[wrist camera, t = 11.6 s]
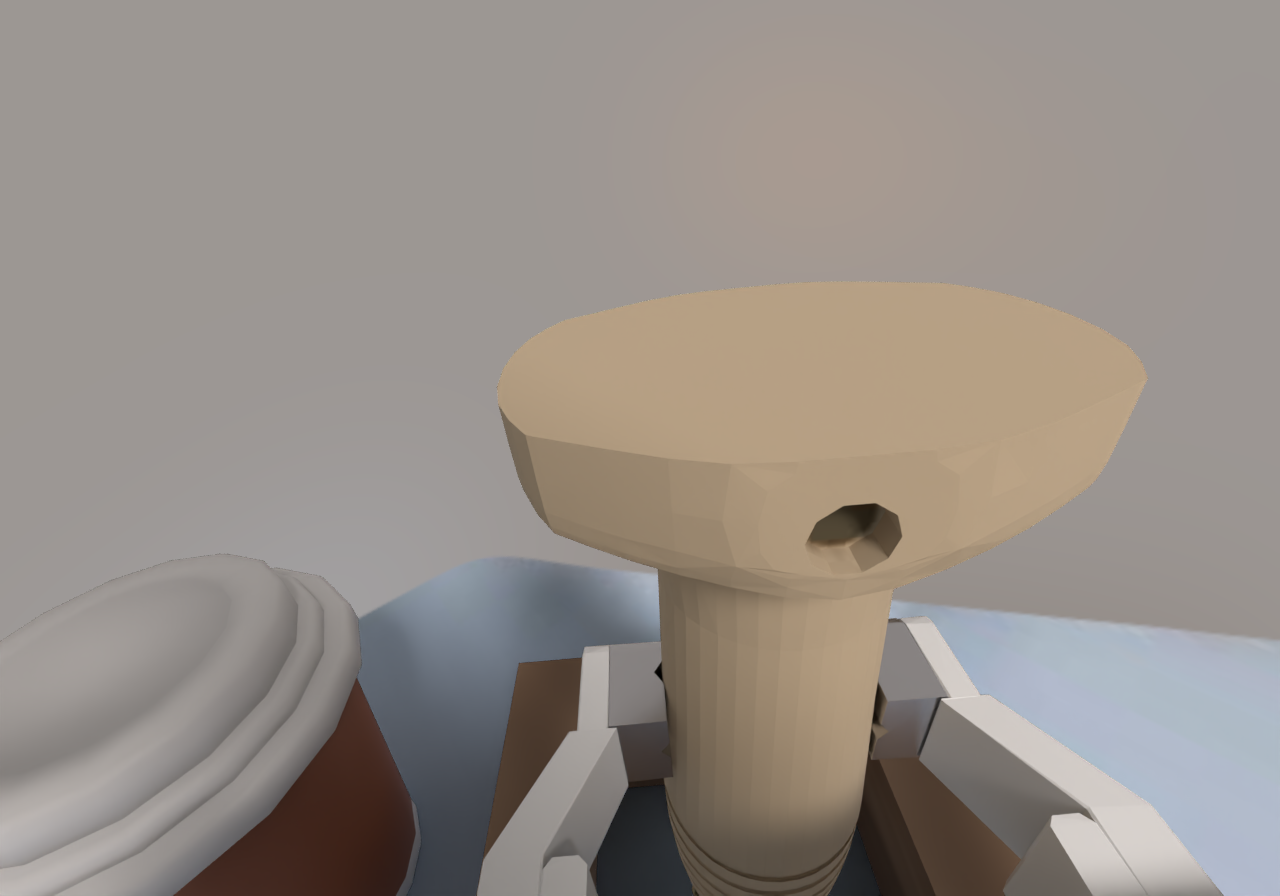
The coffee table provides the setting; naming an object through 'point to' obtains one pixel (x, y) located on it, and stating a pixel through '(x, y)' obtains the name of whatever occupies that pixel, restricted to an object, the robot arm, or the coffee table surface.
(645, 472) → the handle
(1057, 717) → the coffee table surface
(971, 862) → the socket block
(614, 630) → the coffee table surface
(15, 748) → the coffee cup
